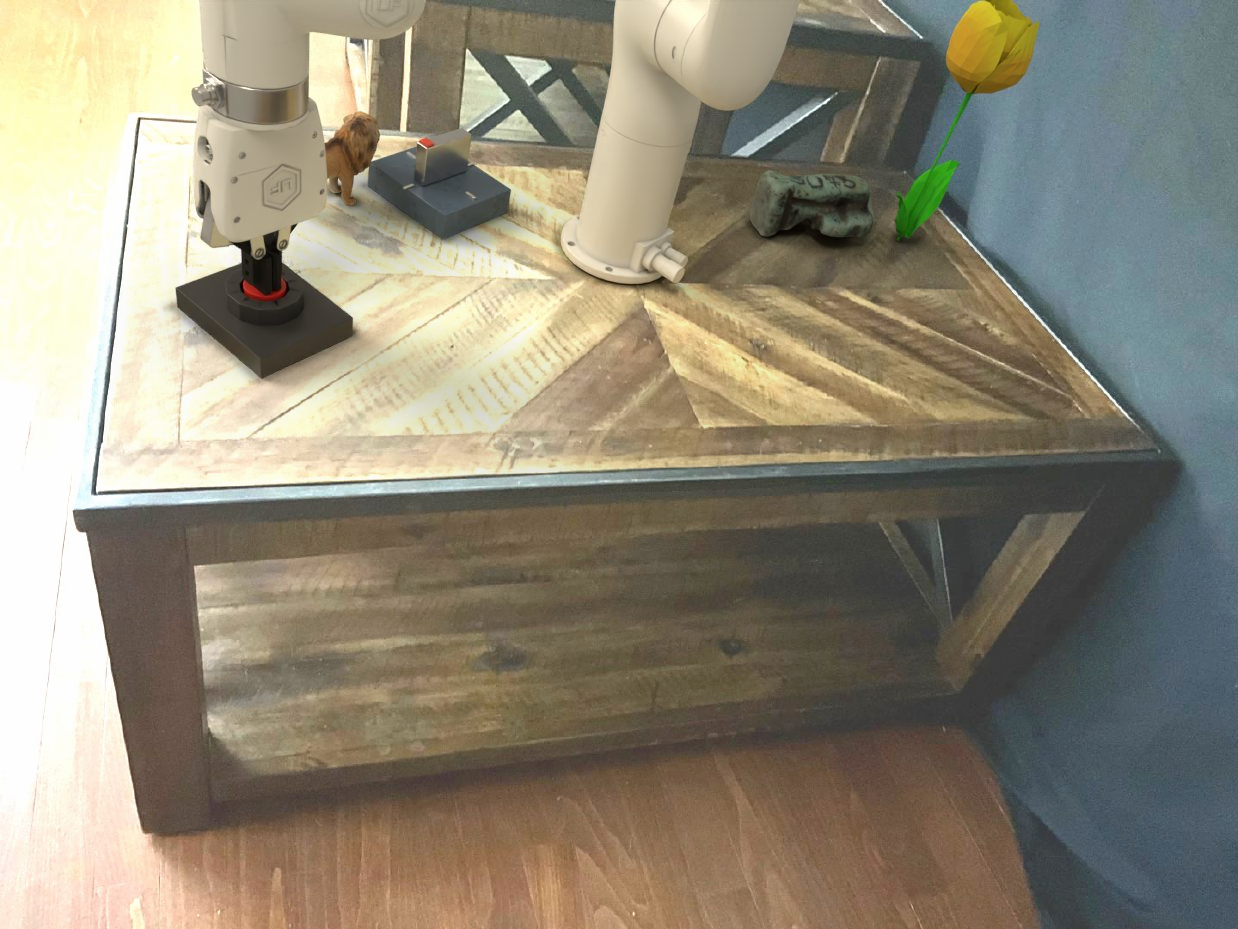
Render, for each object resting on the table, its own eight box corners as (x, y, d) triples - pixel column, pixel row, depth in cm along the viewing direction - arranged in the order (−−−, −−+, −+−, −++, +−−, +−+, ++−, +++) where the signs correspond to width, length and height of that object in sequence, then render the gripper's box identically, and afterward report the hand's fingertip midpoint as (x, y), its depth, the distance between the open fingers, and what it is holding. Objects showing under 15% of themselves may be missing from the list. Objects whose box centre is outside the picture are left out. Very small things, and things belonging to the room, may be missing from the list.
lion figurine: (362, 174, 114) (365, 99, 108) (387, 199, 112) (392, 124, 105) (235, 198, 106) (230, 118, 99) (258, 226, 103) (255, 145, 97)
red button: (294, 303, 92) (294, 287, 91) (260, 317, 90) (260, 301, 89) (269, 283, 94) (269, 267, 92) (235, 296, 91) (234, 280, 90)
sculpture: (817, 162, 132) (730, 197, 125) (850, 131, 125) (759, 166, 118) (863, 244, 131) (778, 283, 124) (899, 217, 124) (810, 257, 118)
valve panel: (510, 211, 115) (513, 187, 113) (440, 240, 108) (443, 215, 106) (436, 162, 119) (439, 137, 117) (364, 187, 112) (366, 161, 110)
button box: (352, 336, 95) (354, 301, 92) (261, 378, 88) (259, 342, 85) (270, 271, 99) (269, 236, 96) (177, 307, 92) (173, 270, 90)
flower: (884, 258, 126) (999, 17, 105) (856, 221, 131) (960, -16, 111) (941, 259, 129) (1064, 24, 108) (912, 222, 134) (1023, -8, 114)
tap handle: (457, 164, 114) (462, 125, 111) (467, 171, 113) (472, 132, 110) (413, 179, 110) (416, 139, 107) (423, 186, 109) (427, 146, 106)
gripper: (200, 134, 72) (214, 337, 84) (366, 90, 81) (357, 278, 94) (137, 86, 74) (160, 291, 87) (305, 50, 84) (304, 238, 97)
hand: (262, 284), depth 90 cm, fingers closed
